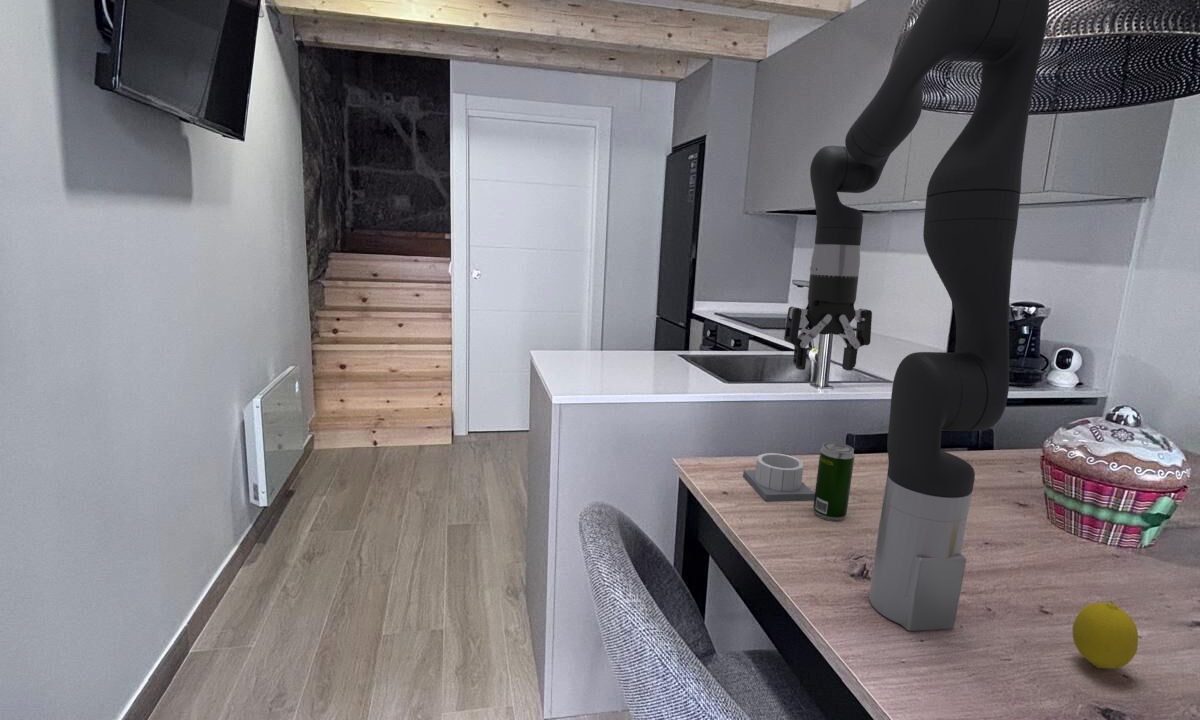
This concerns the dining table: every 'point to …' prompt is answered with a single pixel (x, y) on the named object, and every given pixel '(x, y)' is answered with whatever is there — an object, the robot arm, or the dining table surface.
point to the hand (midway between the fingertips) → (823, 369)
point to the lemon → (1105, 635)
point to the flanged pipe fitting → (779, 478)
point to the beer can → (833, 481)
